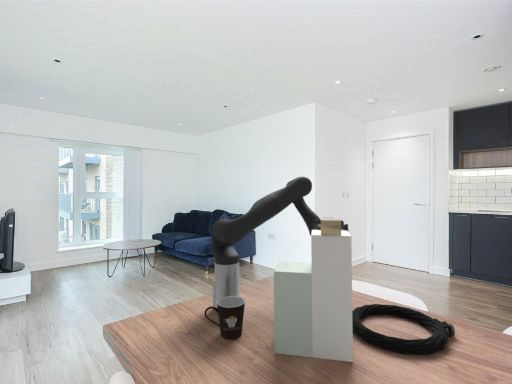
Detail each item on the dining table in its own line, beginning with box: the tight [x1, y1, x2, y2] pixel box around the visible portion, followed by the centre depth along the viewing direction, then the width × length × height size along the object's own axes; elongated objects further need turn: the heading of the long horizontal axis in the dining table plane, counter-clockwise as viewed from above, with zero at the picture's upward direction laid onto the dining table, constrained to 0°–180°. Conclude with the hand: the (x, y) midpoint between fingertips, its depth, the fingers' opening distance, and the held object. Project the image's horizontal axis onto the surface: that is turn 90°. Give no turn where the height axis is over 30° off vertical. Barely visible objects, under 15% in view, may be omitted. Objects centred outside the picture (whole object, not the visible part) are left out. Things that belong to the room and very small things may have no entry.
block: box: [320, 217, 342, 236], centre depth 80 cm, size 19×5×4 cm, turn 167°
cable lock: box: [352, 303, 456, 355], centre depth 86 cm, size 28×4×30 cm
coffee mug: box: [204, 296, 246, 341], centre depth 85 cm, size 12×9×10 cm
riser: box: [273, 230, 354, 363], centre depth 77 cm, size 10×20×32 cm, turn 77°
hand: (328, 222), depth 99 cm, fingers open, 8 cm apart
